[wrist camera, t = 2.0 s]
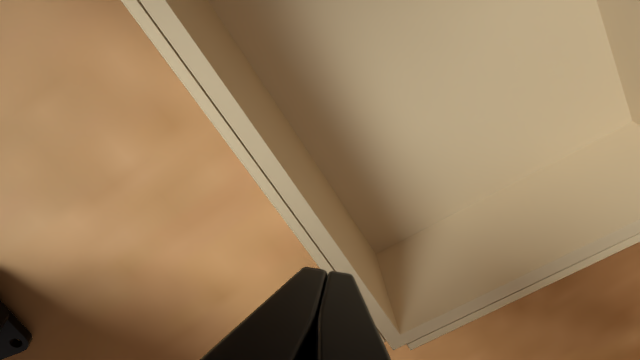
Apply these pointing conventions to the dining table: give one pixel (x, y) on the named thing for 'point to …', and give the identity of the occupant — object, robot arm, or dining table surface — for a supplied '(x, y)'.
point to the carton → (426, 137)
